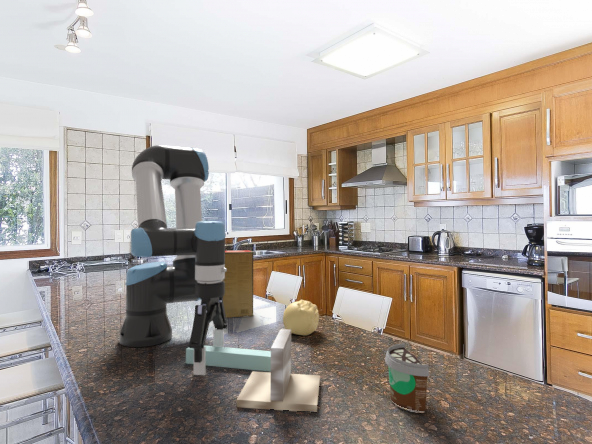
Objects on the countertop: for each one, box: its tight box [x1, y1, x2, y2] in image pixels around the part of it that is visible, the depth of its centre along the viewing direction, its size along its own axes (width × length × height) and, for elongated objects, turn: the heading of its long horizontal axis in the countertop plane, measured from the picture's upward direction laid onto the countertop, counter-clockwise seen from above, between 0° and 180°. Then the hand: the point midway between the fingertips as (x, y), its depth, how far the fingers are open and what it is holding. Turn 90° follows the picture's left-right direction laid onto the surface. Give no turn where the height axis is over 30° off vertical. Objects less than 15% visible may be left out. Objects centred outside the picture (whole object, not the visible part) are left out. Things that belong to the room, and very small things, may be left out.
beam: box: [185, 344, 271, 373], centre depth 90 cm, size 26×4×4 cm, turn 79°
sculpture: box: [282, 299, 320, 336], centre depth 116 cm, size 12×12×11 cm
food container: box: [384, 343, 430, 412], centre depth 72 cm, size 12×6×10 cm, turn 5°
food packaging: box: [222, 249, 254, 319], centre depth 137 cm, size 13×9×25 cm
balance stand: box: [236, 328, 321, 413], centre depth 75 cm, size 16×13×12 cm
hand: (209, 363), depth 90 cm, fingers open, 13 cm apart
